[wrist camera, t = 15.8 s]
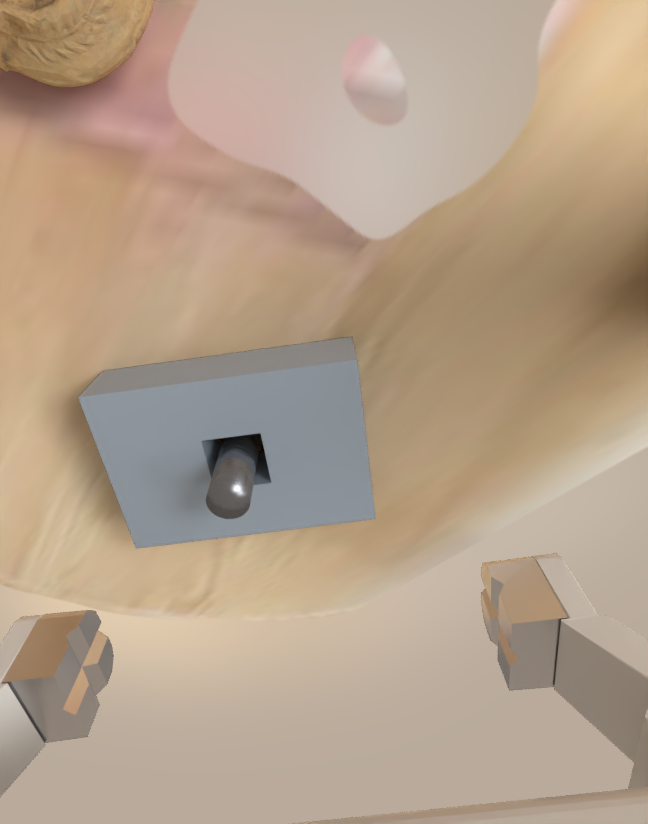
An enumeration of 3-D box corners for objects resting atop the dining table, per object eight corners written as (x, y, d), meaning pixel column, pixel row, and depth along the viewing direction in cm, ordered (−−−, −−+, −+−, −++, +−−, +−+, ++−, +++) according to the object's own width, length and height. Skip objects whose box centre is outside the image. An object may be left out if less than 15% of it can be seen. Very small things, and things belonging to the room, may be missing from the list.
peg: (258, 412, 44) (245, 480, 35) (265, 443, 45) (254, 516, 36) (223, 417, 44) (201, 486, 35) (230, 447, 45) (211, 521, 36)
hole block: (352, 336, 41) (357, 359, 36) (369, 483, 47) (375, 518, 43) (102, 370, 42) (77, 397, 37) (152, 511, 48) (136, 548, 43)
